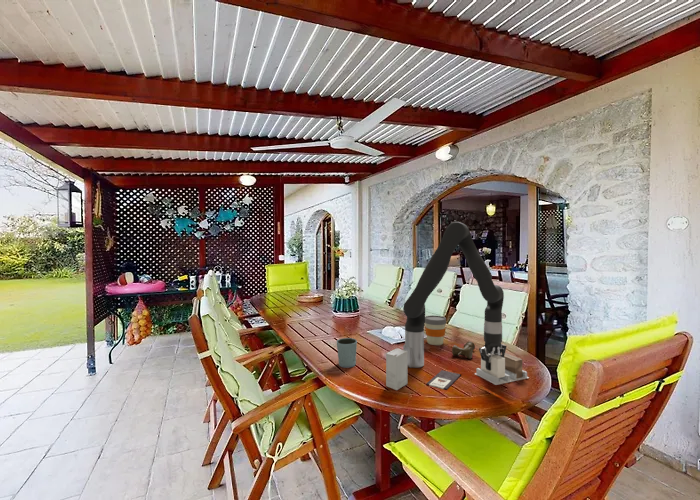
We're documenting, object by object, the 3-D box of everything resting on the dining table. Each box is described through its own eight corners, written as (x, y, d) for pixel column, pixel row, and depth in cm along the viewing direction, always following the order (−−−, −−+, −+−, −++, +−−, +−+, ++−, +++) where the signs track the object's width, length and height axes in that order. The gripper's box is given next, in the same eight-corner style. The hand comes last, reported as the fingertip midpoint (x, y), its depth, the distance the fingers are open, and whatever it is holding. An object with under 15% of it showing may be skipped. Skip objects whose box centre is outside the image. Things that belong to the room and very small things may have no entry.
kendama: (479, 352, 191) (467, 362, 175) (462, 349, 197) (448, 358, 181) (479, 341, 191) (467, 350, 175) (462, 339, 197) (448, 347, 181)
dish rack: (495, 387, 146) (495, 379, 146) (474, 375, 158) (474, 368, 158) (529, 379, 153) (529, 372, 153) (506, 369, 165) (506, 362, 165)
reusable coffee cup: (447, 346, 200) (447, 320, 199) (425, 345, 202) (425, 320, 201) (444, 340, 212) (444, 315, 212) (423, 339, 214) (423, 315, 214)
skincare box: (396, 380, 154) (396, 347, 153) (408, 384, 150) (408, 350, 149) (385, 386, 148) (385, 352, 147) (397, 391, 144) (396, 355, 143)
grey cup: (360, 363, 175) (360, 339, 175) (350, 369, 167) (350, 345, 166) (343, 359, 181) (343, 336, 180) (332, 366, 172) (332, 342, 171)
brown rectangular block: (515, 378, 152) (515, 360, 152) (498, 370, 162) (498, 353, 161) (522, 377, 154) (522, 359, 153) (504, 369, 163) (504, 352, 163)
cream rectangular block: (497, 378, 149) (497, 359, 148) (480, 369, 158) (481, 352, 158) (504, 376, 150) (505, 358, 150) (487, 368, 159) (487, 351, 159)
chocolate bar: (460, 374, 159) (446, 388, 144) (460, 376, 159) (446, 390, 144) (441, 370, 164) (426, 383, 150) (441, 372, 164) (426, 385, 150)
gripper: (486, 334, 147) (486, 374, 148) (512, 331, 152) (511, 369, 153) (474, 330, 154) (473, 368, 155) (498, 327, 159) (498, 363, 160)
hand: (492, 368), depth 154 cm, fingers closed on cream rectangular block, 4 cm apart
